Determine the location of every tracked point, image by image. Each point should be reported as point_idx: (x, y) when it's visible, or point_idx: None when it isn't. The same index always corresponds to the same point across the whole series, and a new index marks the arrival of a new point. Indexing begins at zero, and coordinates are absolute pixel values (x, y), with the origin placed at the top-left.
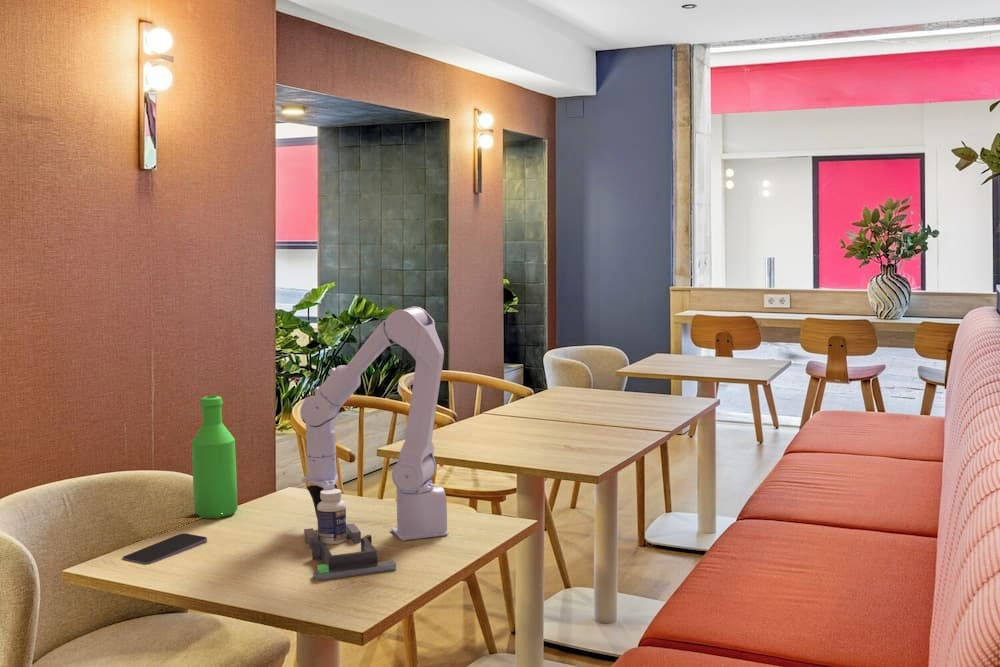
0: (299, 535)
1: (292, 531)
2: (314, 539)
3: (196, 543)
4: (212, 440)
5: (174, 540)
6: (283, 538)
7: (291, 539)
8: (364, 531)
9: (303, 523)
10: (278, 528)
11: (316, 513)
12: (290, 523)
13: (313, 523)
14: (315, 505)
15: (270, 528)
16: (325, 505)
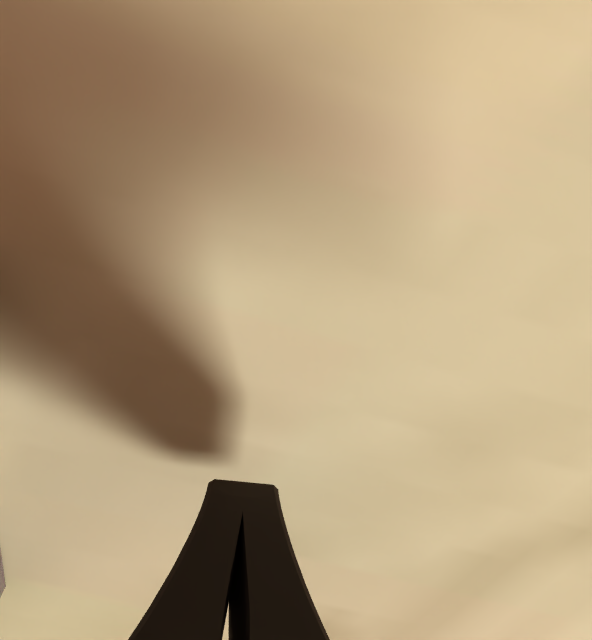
0: (128, 236)
1: (307, 216)
2: None
3: None
4: None
5: None
6: (87, 36)
7: (10, 113)
8: (29, 636)
9: (495, 378)
10: (515, 112)
11: (228, 542)
12: (588, 281)
13: (434, 442)
14: (155, 637)
15: (587, 19)
16: None
